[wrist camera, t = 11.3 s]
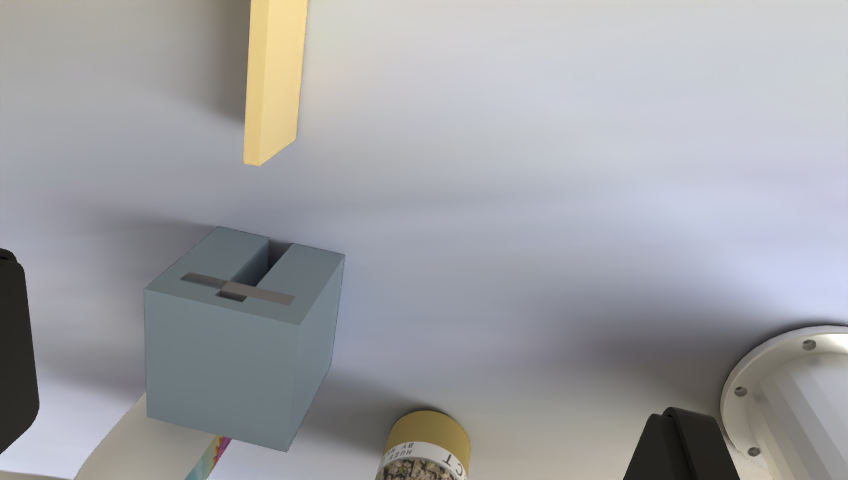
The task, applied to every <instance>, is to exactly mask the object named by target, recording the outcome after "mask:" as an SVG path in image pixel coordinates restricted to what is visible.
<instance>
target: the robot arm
mask: <svg viewBox="0 0 848 480" xmlns="http://www.w3.org/2000/svg"><path fill="white" fill-rule="evenodd" d="M38 410H39V395H38V386H37V378H36V369H35V360H34V351H33V342H32V334H31V325H30V316H29V307H28V298H27V290H26V281H25V273H24V269H23V267H22V266H21V264H19V263H17V260H16V257H15V256H14V254H13V253H12V252H10V251H8V250H6V249H1V248H0V454H1V453H2V452H3V451H5V450H6V449H7V448H8V447H9V446H10V445H11V444H12V443H13V442H14V441H15V440H16V439H18V438H19V437H20V436H21V435H22V434H23V433H24V432H25V431H26V430H27V429H28V428H29V427H30V426H31V425H32V423H33V422H34V420H35V418H36V416H37V414H38ZM720 412H721V417H722V421H723V425H724V427H725V429H726V431H727V434H728V436H729V438H730V440H731V441H732V443H733V444H734V446H735V447H736V449H737V450H738V451H739V452H740V453H741V454H742V455H743V456H744V457H745V458H747V459H748V460H750V461H751V462H753V463H754V464H756V465H758V466H759V467H761V468H763V469H766V470H768V471H770V473H771V475H772V478H773V480H848V327H844V326H827V325H826V326H815V327H806V328H802V329H798V330H793V331H789V332H786V333H784V334H781V335H779V336H776V337H774V338H771V339H769V340H768V341H766V342H764V343H762V344H761V345H759V346H757V347H756V348H754V349H753V350H752V351H751V352H749V353H748V354H747V355H746V356H745V357H743V358H742V359H741V360H740V362H739V363H738V364H737V365H736V366H735V368H734V369H733V370H732V371H731V373H730V375H729V377H728V379H727V380H726V382H725V384H724V387H723V391H722V395H721V403H720ZM623 480H740V478H739V476H738V473H737V471H736V468H735V466H734V463H733V461H732V458H731V456H730V454H729V451H728V449H727V446H726V444H725V441H724V439H723V436H722V434H721V431H720V429H719V426H718V424H717V422H716V420H715V419H714V418H713V417H711V416H709V415H705V414H700V413H696V412H692V411H688V410H684V409H679V408H675V407H668V408H667V409H666V410H665V411H664V413H663V414H662V415H659V414H651V416H650V417H649V418H648V420H647V422H646V425H645V427H644V430H643V432H642V435H641V437H640V439H639V442H638V444H637V447H636V449H635V452H634V454H633V456H632V459H631V461H630V464H629V466H628V469H627V471H626V474H625V476H624V478H623Z"/></svg>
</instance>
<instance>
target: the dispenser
mask: <svg viewBox="0 0 848 480" xmlns="http://www.w3.org/2000/svg"><path fill="white" fill-rule="evenodd" d="M269 243H270V238H268V237H263V236H259V235H254V234H250V233H246V232H241V231H237V230H232V229H228V228H224V227H217V228H216V229H215V230H214V231H213V232H211V233H210V234H209V235H208V236H207V237H205V238H204V239H203V240H202V241H201V242H199V243H198V244H197V245H196V246H195V247H193V248H192V249H191V250H190V251H189V252H187V253H186V254H185V255H184V256H183V257H181V258H180V259H179V260H178V261H177V262H175V263H174V264H173V265H172V266H171V267H169V268H168V269H167V270H166V271H165V272H163V273H162V274H161V275H160V276H159V277H157V278H156V279H155V280H154V281H153V282H151V283H150V284H149V285H148V286H146V287H145V288H144V321H145V365H146V410H147V417H148V418H152V419H156V420H160V421H164V422H168V423H172V424H176V425H180V426H184V427H188V428H192V429H196V430H200V431H204V432H208V433H212V434H216V435H220V436H224V437H228V438H232V439H235V440H239V441H243V442H247V443H251V444H255V445H259V446H263V447H267V448H271V449H275V450H279V451H283V452H287V451H288V449H289V447H290V445H291V443H292V441H293V439H294V437H295V435H296V433H297V431H298V429H299V427H300V425H301V423H302V421H303V419H304V417H305V415H306V413H307V411H308V409H309V407H310V405H311V403H312V401H313V399H314V397H315V395H316V393H317V391H318V389H319V387H320V385H321V383H322V381H323V379H324V377H325V375H326V373H327V371H328V370H329V368H330V366H331V360H332V352H333V344H334V337H335V329H336V321H337V314H338V306H339V298H340V291H341V283H342V275H343V268H344V260H345V255H343V254H338V253H334V252H329V251H325V250H320V249H316V248H312V247H307V246H303V245H298V244H294V243H293V244H292V245H291V246H290V247H289V249H288V250H287V251H286V252H285V253H284V254H283V256H282V257H281V258H280V259H279V260H278V261H277V263H276V264H275V265H274V266H273V267H272V268H271V270H270V271H269V272H268V273H267V270H268V257H269Z"/></svg>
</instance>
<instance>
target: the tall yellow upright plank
mask: <svg viewBox="0 0 848 480" xmlns="http://www.w3.org/2000/svg"><path fill="white" fill-rule="evenodd" d="M307 4H308V0H251V12H250V33H249V53H248V73H247V93H246V113H245V133H244V153H243V163H246V164H250V165H255V166H260V165H262V164H263V163H264V162H266V161H267V160H268V159H270V158H271V157H273V156H274V155H275V154H277V153H278V152H279V151H281V150H282V149H283V148H285V147H286V146H288V145H289V144H290V143H292V142H293V141H294V140H296V132H297V120H298V109H299V97H300V85H301V74H302V62H303V50H304V39H305V27H306V15H307Z"/></svg>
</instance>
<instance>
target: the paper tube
mask: <svg viewBox="0 0 848 480" xmlns="http://www.w3.org/2000/svg"><path fill="white" fill-rule="evenodd" d="M469 458H470V442H469V439H468V436H467V434H466V432H465V431H464V429H463V428H462V427H461V426H460V425H459V424H458V423H457V422H456V421H455V420H453V419H452V418H450V417H449V416H447V415H445V414H442V413H439V412H435V411H416V412H412V413H410V414H407V415H405V416H403V417H402V418H400V419H399V420H398V421H397V422H396V423H395V424H394V426H393V427H392V429H391V431H390V434H389V437H388V440H387V444H386V447H385V450H384V453H383V457H382V460H381V462H380V465H379V469H378V472H377V475H376V479H375V480H467V474H468V466H469Z"/></svg>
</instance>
